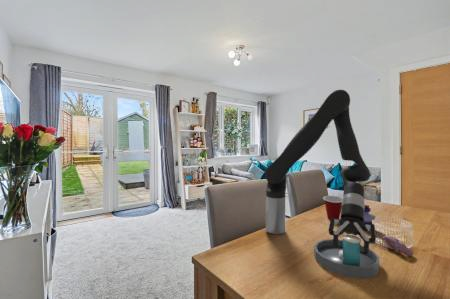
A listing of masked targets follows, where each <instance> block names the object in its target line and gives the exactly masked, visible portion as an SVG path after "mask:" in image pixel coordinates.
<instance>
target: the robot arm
mask: <svg viewBox="0 0 450 299" xmlns="http://www.w3.org/2000/svg"><path fill="white" fill-rule="evenodd" d="M350 104H351V97H350V94H349V92H347V91H346V90H344V89H336V90H333V91H331V92H330V93H328V95H327V97H326V98H325V99H324V101H323V103H322V104H321V105H320V107H319V108H318V109H317V111H316V112H315V113H314V114H313V115H312V116H311V117H310V118H309V120H307V121H306V123H305V124H304V125H303V126H302V127H301V128H300V129H299V130H298V131H297V133H296V134H295V135H294V136H293V137H292V138H291V140H290V141H289V142H288V144H287V146H286V147H285V148H284V149H283V151H282V152H281V154H280V155H279V156H278V157H277V158H276V159H275V160H274V161H273V162H272V163H271V164H269V165H268V166H267V167H266V169H265V171H264V177H265V180H266V182H267V183H266V190H265V195H266V196H265V233H268V234H271V235H272V234H273V235H282V234H284V233H286V191H287V174H288V173H289V171H290V170H291V168H292V167H293V166H294V165H295V164H296V163H297V162H298V161H299V160H301V159H302V158H303V157H304V156H305V155H306V154H307V153H308V152H309V151H310V150H311V149H312V148H313V147H314V146H315V144H316V143H318V141H319V140H320V138H321V137H322V135H323V134H324V132H325V131H326V129H327V128H328V126H329V124H330V123H331V122H332V121H333V123H334V127H335V130H336V137H337V143H338V146H339V153H340V156H341V159H342V160H343V161H348V162H349V161H352V162H353V163H354V164H355V165H348V166H347V165H345V166H344V167H342V168H341V170H340V175H341V176H340V177H341V180H342V183H343V194H342V195H343V196H342V198H343V199H342V207H341V213H340V217H339V220H337V219H334V218H333V217H332V218H331V220H330V219H329V220H330V221H329V226H328V234H329V235H330V236H333V238H332V239H333V245H334V246H335V248H337V247H338V240H339V237H340V236H341V235H342V236H343V234H345V235H353V236H358V237H359V238H360V239H361V240H362V241H363V246H364V254H365V255H366V253H369V249H370V245H371V244H376V241H377V240H376V237H377V236H376V226H375V224H374V223H373V224H371V225H366V224H365V223H364V210H365V208H364V207H365V205H366V204H365V187H364V185H362V184H361V183H359V182H367V181H369V179H370V178H371V171H370V169H369V167H368V166H367V164H366V162H365V161H364V159H363V157H362V155H361V152H360V148H359V145H358V141H357V137H356V135H355V131H354V129H353V126H352V122H351V117H350ZM337 224H338V225H339V227H338V228H337V229H336V230H334V228H335V226H337ZM365 228H367V229H368V231H367V232H370V237H368V236H367V234H366V233H365V231H364V229H365Z"/></svg>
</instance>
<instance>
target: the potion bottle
mask: <svg viewBox="0 0 450 299" xmlns="http://www.w3.org/2000/svg"><path fill="white" fill-rule="evenodd" d="M364 208H365V210H364V223H365V224H366V225H371V224H372V220H374V219H375V220H376V216H375V215H373V214H371V213H370V212H371V210H372V209H371V208H370V205H367V204H365V207H364ZM363 231H364V232H365V231H366V232H369V231H368V229H367V228H365V229H364V230H363Z"/></svg>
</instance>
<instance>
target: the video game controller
mask: <svg viewBox="0 0 450 299" xmlns="http://www.w3.org/2000/svg"><path fill="white" fill-rule="evenodd" d="M381 241H382V243H384V244H386V245H387V247H388V248H389V249H390V250H391V251H393V250H394V251H395V252H396V253H397V254H401V253H402V254H403V255H405V256H406V257H410V258H411V257H413V255H414V253H413V251H412V250H411V249H410V248H409V247H407V246H406V244H405V243H403V241H401V240H399V239H398V238H397V237H395V236H391V235H390V234H387V235H384V236H382V237H381Z"/></svg>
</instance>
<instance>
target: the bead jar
mask: <svg viewBox="0 0 450 299" xmlns="http://www.w3.org/2000/svg"><path fill="white" fill-rule="evenodd" d="M342 240H343V263H342V264H346V265H352V266H360V245H361V243H362V242H361V240H362V239H361V237H359V236H357V235H353V234H344V235H343V234H342Z"/></svg>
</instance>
